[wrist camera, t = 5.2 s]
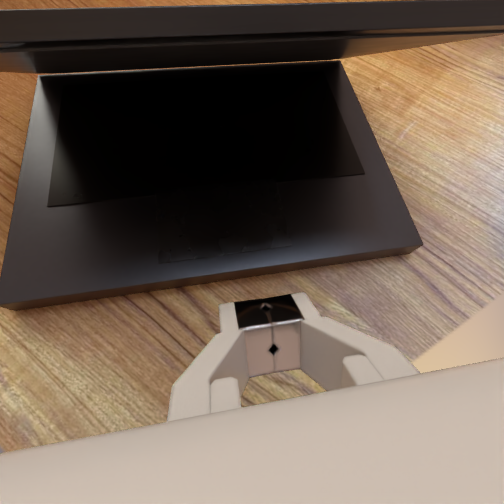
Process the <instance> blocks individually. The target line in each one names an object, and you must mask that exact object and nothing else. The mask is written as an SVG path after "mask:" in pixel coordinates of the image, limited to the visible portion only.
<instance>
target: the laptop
mask: <svg viewBox="0 0 504 504" xmlns="http://www.w3.org/2000/svg"><path fill="white" fill-rule="evenodd" d="M422 245H423V242H422V240H421V238H420V236H419V233H418V231H417V229H416V227H415V225H414V222H413V220H412V218H411V216H410V214H409V211H408V209H407V207H406V205H405V203H404V200H403V198H402V196H401V194H400V192H399V189H398V187H397V185H396V183H395V181H394V178H393V176H392V174H391V172H390V169H389V167H388V165H387V163H386V161H385V158H384V156H383V154H382V152H381V150H380V147H379V145H378V143H377V141H376V139H375V136H374V134H373V132H372V130H371V128H370V125H369V123H368V121H367V119H366V117H365V114H364V112H363V110H362V108H361V105H360V103H359V101H358V99H357V97H356V94H355V92H354V90H353V88H352V86H351V83H350V81H349V79H348V77H347V75H346V72H345V70H344V68H343V66H342V64H341V61H340V60H337V61H317V62H296V63H276V64H256V65H236V66H215V67H195V68H175V69H154V70H134V71H114V72H93V73H73V74H53V75H38V79H37V84H36V89H35V95H34V100H33V106H32V111H31V116H30V122H29V127H28V132H27V138H26V143H25V148H24V154H23V159H22V164H21V170H20V175H19V181H18V186H17V191H16V197H15V202H14V207H13V213H12V218H11V223H10V229H9V234H8V240H7V245H6V250H5V256H4V261H3V266H2V272H1V277H0V307H3V308H7V309H10V310H14V311H18V310H25V309H32V308H39V307H46V306H53V305H60V304H66V303H73V302H80V301H87V300H94V299H101V298H108V297H115V296H121V295H128V294H135V293H142V292H149V291H156V290H163V289H169V288H176V287H183V286H190V285H197V284H204V283H211V282H217V281H224V280H231V279H238V278H245V277H252V276H259V275H266V274H272V273H279V272H286V271H293V270H300V269H307V268H314V267H320V266H327V265H334V264H341V263H348V262H355V261H362V260H369V259H375V258H382V257H389V256H396V255H403V254H410V253H411V252H413V251H414V250H416V249H417V248H419V247H420V246H422Z"/></svg>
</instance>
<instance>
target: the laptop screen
mask: <svg viewBox="0 0 504 504" xmlns="http://www.w3.org/2000/svg"><path fill="white" fill-rule="evenodd" d="M501 34H504V0H422V1H376V2H330V3H284V4H238V5H192V6H146V7H100V8H54V9H8V10H0V72H15V73H35V74H40V73H51V74H52V73H73V72H93V71H114V70H134V69H155V68H175V67H196V66H216V65H237V64H257V63H278V62H298V61H319V60H333V59H343V58H349V57H356V56H363V55H369V54H376V53H382V52H389V51H396V50H402V49H409V48H415V47H422V46H429V45H435V44H442V43H448V42H455V41H462V40H468V39H475V38H481V37H488V36H495V35H501Z"/></svg>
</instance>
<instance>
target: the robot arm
mask: <svg viewBox="0 0 504 504" xmlns="http://www.w3.org/2000/svg"><path fill="white" fill-rule="evenodd" d="M219 319H220V332H221V333H218V334H216V335H215V336H214V337H213V338H212V339H211V341H210V342H209V343H208V344H207V345H206V346H205V348H204V349H203V350H202V351H201V352H200V353H199V355H198V356H197V357H196V358H195V359H194V360H193V362H192V363H191V364H190V365H189V366H188V367H187V369H186V370H185V371H184V372H183V373H182V375H181V376H180V377H179V378H178V379H177V380H176V382H175V383H174V384H173V385H172V389H171V396H170V403H169V409H168V416H167V422H162V423H157V424H152V425H146V426H141V427H136V428H130V429H125V430H120V431H115V432H109V433H104V434H99V435H93V436H88V437H83V438H78V439H72V440H67V441H62V442H56V443H51V444H46V445H41V446H35V447H30V448H25V449H19V450H14V451H9V452H4V453H0V504H504V358H500V359H495V360H489V361H484V362H479V363H473V364H468V365H463V366H458V367H452V368H447V369H442V370H436V371H431V372H426V373H420V372H419V371H418V370H417V369H416V368H415V366H414V365H413V364H412V363H411V362H410V361H409V360H408V359H407V358H406V357H405V356H404V355H403V354H402V353H401V351H400V350H399V349H398V348H397V347H395V346H393V345H391V344H388V343H386V342H384V341H382V340H379V339H377V338H375V337H372V336H370V335H368V334H365V333H363V332H361V331H359V330H356V329H354V328H352V327H349V326H347V325H345V324H342V323H340V322H338V321H336V320H333V319H331V318H329V317H322V316H321V315H320V313H319V312H318V310H317V309H316V307H315V306H314V304H313V303H312V302H311V300H310V299H309V297H308V296H307V294H306V293H305V292H299V293H294V294H288V295H282V296H276V297H271V298H265V299H255V300H247V301H239V302H234V303H233V302H230V303H224V304H219ZM296 369H301V370H302V371H303V372H304V373H305V374H307V375H308V376H309V377H310V378H312V379H313V380H314V381H315V382H316V383H318V384H319V385H320V386H321V387H323V388H324V389H325V390H326V392H320V393H315V394H310V395H305V396H300V397H294V398H289V399H284V400H278V401H273V402H268V403H263V404H257V405H252V406H247V407H241V400H240V399H241V397H242V394H243V392H244V390H245V388H246V385H247V383H248V381H249V378H252V377H256V376H261V375H266V374H271V373H276V372H283V371H290V370H296Z"/></svg>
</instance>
